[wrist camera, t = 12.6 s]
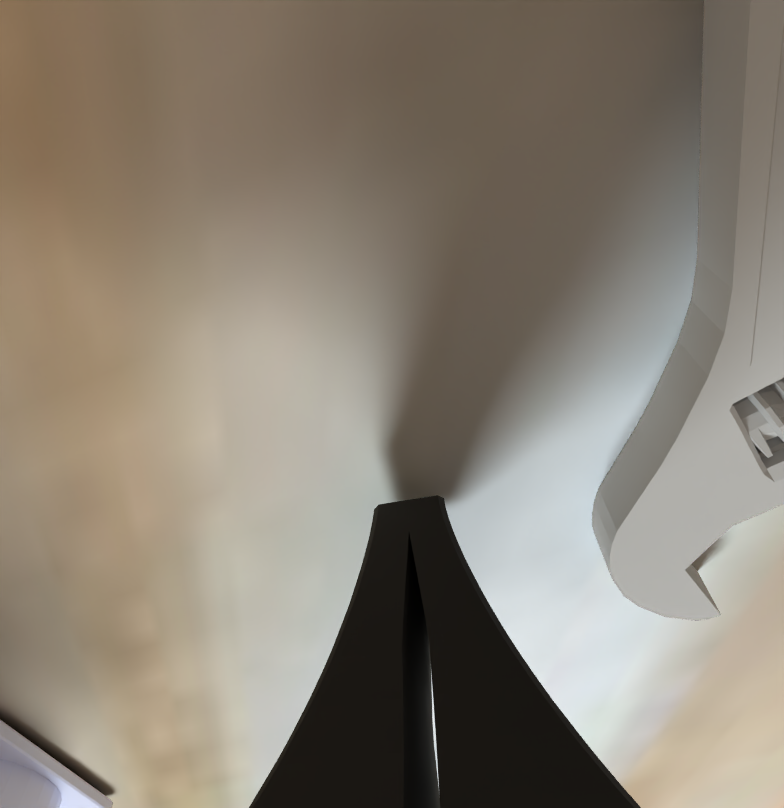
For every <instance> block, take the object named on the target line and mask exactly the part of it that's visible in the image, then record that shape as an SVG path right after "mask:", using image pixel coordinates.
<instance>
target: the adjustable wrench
mask: <svg viewBox="0 0 784 808" xmlns="http://www.w3.org/2000/svg"><path fill="white" fill-rule="evenodd" d="M783 504H784V0H704V16H703V53H702V90H701V127H700V164H699V201H698V239H697V261H696V269H695V276H694V283H693V290H692V298H691V302H690V305H689V308H688V311H687V314H686V317H685V320H684V323H683V326H682V329H681V332H680V335H679V338H678V341H677V343H676V345H675V348H674V350H673V352H672V354H671V356H670V359H669V361H668V363H667V365H666V367H665V370H664V372H663V374H662V376H661V378H660V380H659V383H658V385H657V387H656V389H655V391H654V394H653V396H652V398H651V400H650V402H649V404H648V405H647V407H646V409H645V411H644V413H643V415H642V417H641V419H640V421H639V423H638V424H637V426H636V428H635V429H634V431H633V433H632V434H631V436H630V438H629V439H628V441H627V443H626V444H625V446H624V448H623V449H622V451H621V452H620V454H619V456H618V457H617V459H616V461H615V462H614V464H613V466H612V467H611V469H610V471H609V472H608V474H607V475H606V477H605V479H604V480H603V482H602V484H601V485H600V487H599V489H598V492H597V495H596V497H595V500H594V505H593V512H592V527H593V530H594V534H595V537H596V539H597V542H598V544H599V547H600V549H601V552H602V555H603V557H604V560H605V562H606V565H607V567H608V570H609V572H610V575H611V577H612V579H613V581H614V582H615V584H616V585H617V587H618V588H619V590H620V591H621V593H622V594H623V596H625V597H626V598H627V599H629V600H630V601H632V602H633V603H635V604H636V605H637V606H639V607H641V608H644V609H646V610H649V611H651V612H654V613H656V614H659V615H661V616H664V617H670V618H678V619H687V620H695V621H698V620H705V619H710V618H714V617H717V616H720V615H721V614H720V612H719V610H718V608H717V607H716V605H715V603H714V601H713V599H712V597H711V595H710V594H709V592H708V590H707V588H706V586H705V584H704V583H703V581H702V579H701V577H700V575H699V573H698V572H697V570H696V569H695V568H694V566H693V565H692V563H693V562H694V561H695V560H696V559H697V558H698V557H699V556H700V555H701V554H703V553H704V552H705V551H706V550H707V549H708V548H709V547H710V546H711V545H712V544H713V543H714V542H715V541H717V540H718V539H719V538H720V537H721V536H722V535H723V534H724V533H725V532H726V531H727V530H728V529H729V528H731V527H732V526H733V525H736V524H738V523H740V522H743V521H745V520H748V519H750V518H752V517H755V516H757V515H760V514H762V513H764V512H767V511H769V510H771V509H774V508H776V507H778V506H780V505H783Z"/></svg>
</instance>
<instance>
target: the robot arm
mask: <svg viewBox="0 0 784 808" xmlns="http://www.w3.org/2000/svg"><path fill="white" fill-rule="evenodd" d="M431 671H432V684H433V698H434V713H435V728H436V743H437V759H438V777H439V787H438V778H437V769H436V760H435V751H434V740H433V724H432V692H431ZM439 794H440V796H439ZM112 805H113V802H112V801H111V800H110V799H109V798H108V797H106V796H105V795H104V794H102V793H101V792H99V791H98V790H97V789H95V788H94V787H93V786H91V785H90V784H88V783H87V782H86V781H84V780H83V779H82V778H80V777H79V776H77V775H76V774H75V773H73V772H72V771H70V770H69V769H68V768H66V767H65V766H64V765H62V764H61V763H59V762H58V761H57V760H55V759H54V758H53V757H51V756H50V755H48V754H47V753H46V752H44V751H43V750H42V749H40V748H39V747H37V746H36V745H35V744H33V743H32V742H31V741H29V740H28V739H26V738H25V737H24V736H22V735H21V734H20V733H18V732H17V731H15V730H14V729H13V728H11V727H10V726H9V725H7V724H6V723H4V722H3V721H2V720H0V808H112ZM249 808H641V807H640V806H639V805H638V804H637V803H636V802H635V801H634V799H633V798H632V797H631V796H630V795H629V794H628V793H627V791H626V790H625V789H624V788H623V787H622V786H621V785H620V783H619V782H618V781H617V780H616V779H615V777H614V776H613V775H612V774H611V773H610V771H609V770H608V769H607V768H606V767H605V766H604V764H603V763H602V762H601V761H600V760H599V758H598V757H597V756H596V755H595V754H594V752H593V751H592V750H591V749H590V747H589V746H588V745H587V744H586V742H585V741H584V740H583V738H582V737H581V736H580V735H579V733H578V732H577V731H576V730H575V728H574V727H573V726H572V724H571V723H570V722H569V721H568V719H567V718H566V717H565V715H564V714H563V713H562V712H561V710H560V709H559V708H558V706H557V705H556V704H555V703H554V701H553V700H552V699H551V697H550V696H549V694H548V693H547V692H546V690H545V689H544V688H543V686H542V685H541V683H540V682H539V681H538V679H537V678H536V676H535V675H534V674H533V672H532V671H531V669H530V668H529V666H528V665H527V663H526V662H525V660H524V659H523V657H522V656H521V655H520V653H519V652H518V650H517V649H516V647H515V645H514V644H513V642H512V641H511V639H510V638H509V636H508V635H507V633H506V631H505V630H504V628H503V627H502V625H501V623H500V622H499V620H498V618H497V617H496V615H495V613H494V612H493V610H492V608H491V607H490V605H489V603H488V601H487V599H486V598H485V596H484V594H483V592H482V591H481V589H480V587H479V585H478V583H477V581H476V579H475V577H474V575H473V573H472V571H471V569H470V567H469V566H468V564H467V562H466V559H465V557H464V555H463V553H462V551H461V549H460V546H459V544H458V542H457V539H456V537H455V534H454V532H453V529H452V526H451V524H450V521H449V518H448V514H447V511H446V507H445V502H444V498H442V497H440V496H438V495H437V496H431V497H424V498H418V499H412V500H405V501H399V502H393V503H386V504H380V505H378V506H377V507H376V508H375V509H374V515H373V522H372V527H371V532H370V536H369V540H368V544H367V548H366V552H365V556H364V559H363V563H362V567H361V570H360V573H359V576H358V579H357V582H356V586H355V589H354V592H353V595H352V598H351V601H350V604H349V607H348V610H347V612H346V615H345V617H344V620H343V623H342V625H341V628H340V630H339V633H338V636H337V638H336V641H335V644H334V646H333V648H332V651H331V653H330V656H329V658H328V660H327V663H326V665H325V667H324V669H323V672H322V674H321V676H320V678H319V680H318V682H317V685H316V687H315V689H314V691H313V693H312V695H311V697H310V699H309V701H308V703H307V705H306V707H305V709H304V711H303V713H302V715H301V717H300V719H299V721H298V723H297V725H296V727H295V729H294V731H293V733H292V735H291V736H290V738H289V740H288V742H287V744H286V746H285V747H284V749H283V751H282V753H281V755H280V756H279V758H278V760H277V762H276V763H275V765H274V767H273V768H272V770H271V772H270V773H269V775H268V777H267V778H266V780H265V782H264V783H263V785H262V787H261V789H260V790H259V792H258V794H257V795H256V797H255V799H254V800H253V802H252V804H251V805H250V807H249Z"/></svg>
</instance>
